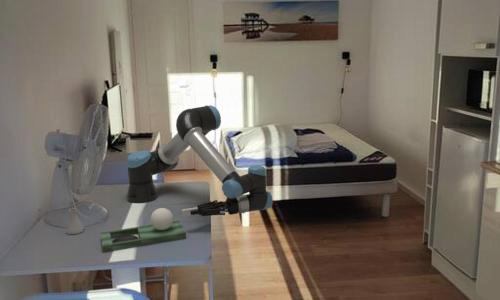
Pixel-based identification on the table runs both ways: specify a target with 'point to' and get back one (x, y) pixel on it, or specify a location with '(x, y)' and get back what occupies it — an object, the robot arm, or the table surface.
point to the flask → (74, 223)
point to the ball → (161, 219)
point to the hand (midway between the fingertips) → (182, 213)
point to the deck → (141, 236)
